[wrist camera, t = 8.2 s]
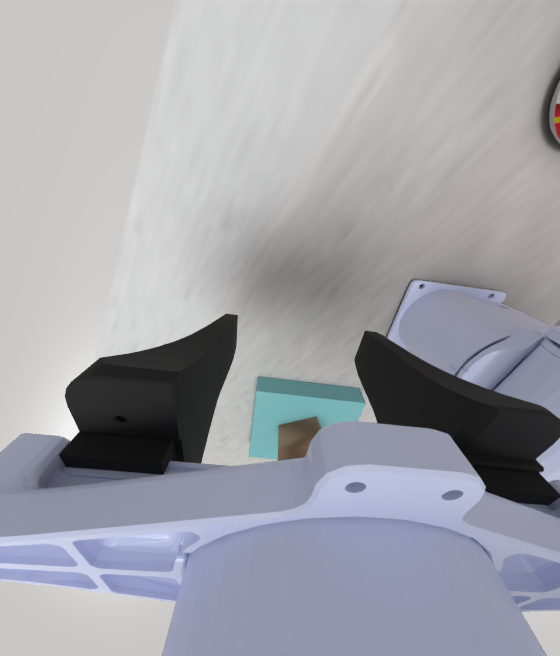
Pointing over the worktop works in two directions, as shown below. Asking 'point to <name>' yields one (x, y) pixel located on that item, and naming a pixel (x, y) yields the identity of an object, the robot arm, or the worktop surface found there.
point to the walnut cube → (296, 438)
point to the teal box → (298, 409)
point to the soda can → (555, 113)
